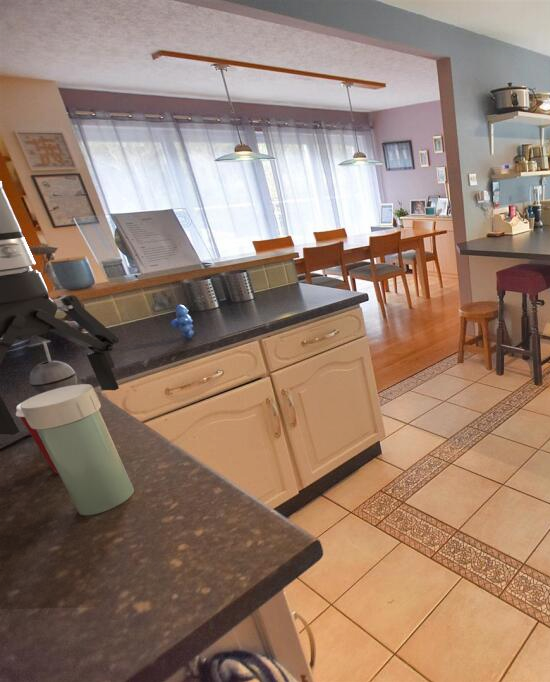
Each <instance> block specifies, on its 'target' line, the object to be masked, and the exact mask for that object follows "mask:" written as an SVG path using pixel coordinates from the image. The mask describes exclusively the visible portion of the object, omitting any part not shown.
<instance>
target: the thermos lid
mask: <svg viewBox="0 0 550 682" xmlns="http://www.w3.org/2000/svg"><path fill="white" fill-rule="evenodd" d="M22 402H23V403H22ZM22 402H20V403H21V405H20V408H21V410H22V412H23V414H24V416H25V418H26V420H27V422H28V424H29V425H30V427H31V428H33V429H47V428H53V427H58V426H62V425H65V424H69V423H72V422H75V421H78V420H80V419H83V418H85V417H87V416H89V415H91V414H93V413H95V412H96V411H97V410H99V411H100V409H101V405H102V403H101V401H100V399H99V397H98V394H97V392H96V390H95V389H94V387H93V385H92V384H88V383H81V384H80V383H79V384H78V383H77V385H71V386H66V387H61V388H57V389H54V390H50V391H47V392H44V393H41V394H39V393H37V394H36V395H34V396H31V397H29V398H27V399H26V400H24V401H22Z"/></svg>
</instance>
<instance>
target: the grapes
mask: <svg viewBox="0 0 550 682" xmlns="http://www.w3.org/2000/svg"><path fill="white" fill-rule="evenodd" d="M175 311H176V312H175V316H176V318H174V319H173V320H172V321H171V322H170V324H169V325H170V326H171V327H173V328H176V329H178V328H179V331H180V333H182V337H184V338H185V339H188V340H189V339H192V337H193V335H194V334H195V331H194V330H192V329H193V327H194V325H193V324H192V323H193V321H194V320H193V319H192V317H191V316H190V315H189V314H188V313H189V309H188V308H187V307H185V306H184V305H182V304H179V305H177V307H176V308H175Z"/></svg>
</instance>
